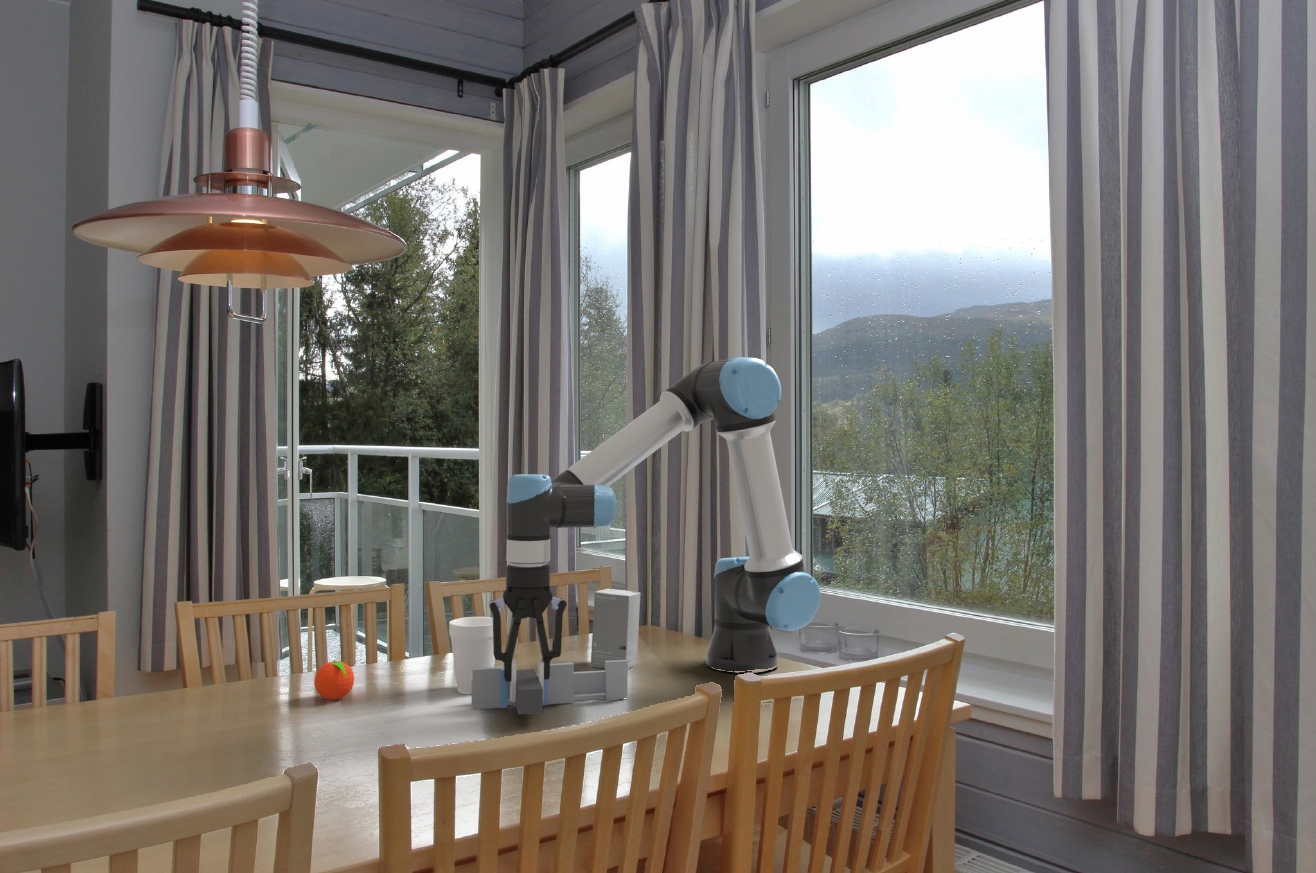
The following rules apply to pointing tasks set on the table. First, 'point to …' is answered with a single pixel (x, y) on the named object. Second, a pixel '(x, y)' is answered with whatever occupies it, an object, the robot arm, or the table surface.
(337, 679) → the clementine
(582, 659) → the table surface
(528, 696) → the dark grey bar
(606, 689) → the grey slotted rail
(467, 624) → the foam cup
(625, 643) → the skincare box
